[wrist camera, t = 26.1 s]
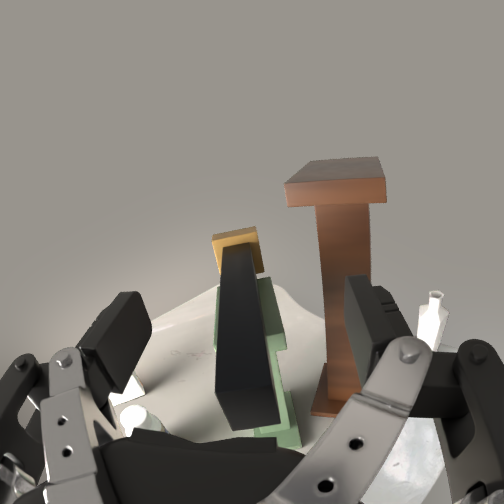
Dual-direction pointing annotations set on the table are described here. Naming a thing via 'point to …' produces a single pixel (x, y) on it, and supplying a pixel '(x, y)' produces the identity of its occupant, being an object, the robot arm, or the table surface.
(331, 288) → the tall stand
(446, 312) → the white faceted vase
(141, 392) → the ink box
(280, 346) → the green piece
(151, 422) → the pill bottle
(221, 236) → the bar
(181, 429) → the table surface
